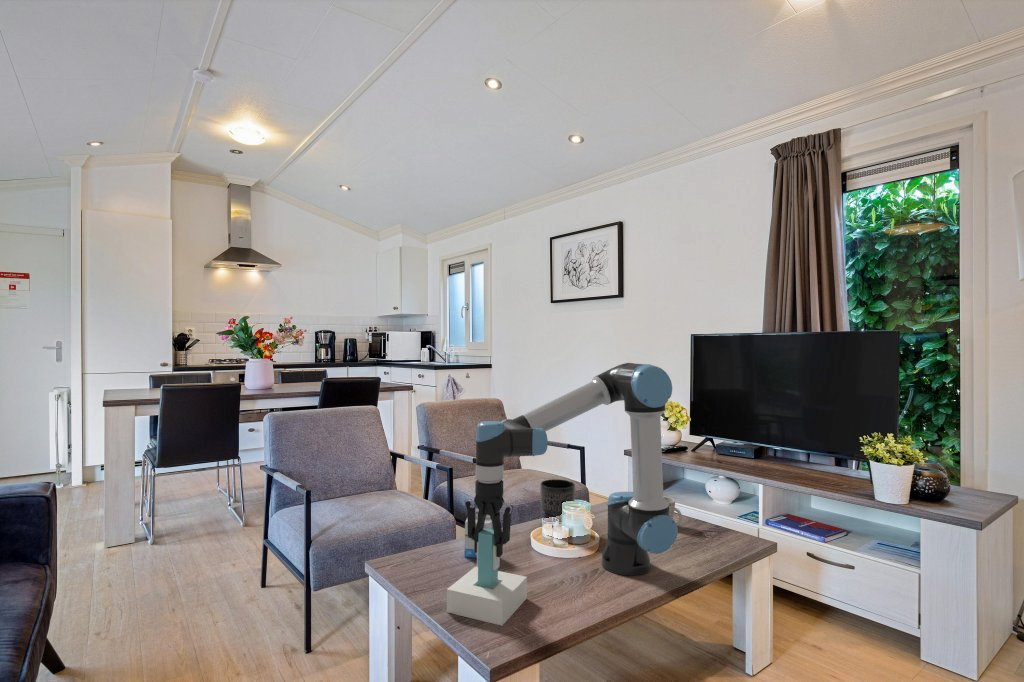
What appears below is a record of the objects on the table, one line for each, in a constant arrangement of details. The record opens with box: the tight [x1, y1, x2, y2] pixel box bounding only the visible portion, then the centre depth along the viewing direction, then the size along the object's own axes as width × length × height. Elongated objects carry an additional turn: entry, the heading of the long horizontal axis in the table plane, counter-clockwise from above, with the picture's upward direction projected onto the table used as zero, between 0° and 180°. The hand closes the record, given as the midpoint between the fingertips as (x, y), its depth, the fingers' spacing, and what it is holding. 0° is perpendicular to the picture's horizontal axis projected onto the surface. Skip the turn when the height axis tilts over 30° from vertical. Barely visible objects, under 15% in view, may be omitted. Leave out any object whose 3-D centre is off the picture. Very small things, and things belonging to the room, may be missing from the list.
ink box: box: [463, 507, 493, 559], centre depth 183 cm, size 9×5×15 cm, turn 84°
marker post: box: [478, 528, 499, 588], centre depth 149 cm, size 4×4×14 cm
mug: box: [663, 496, 683, 526], centre depth 213 cm, size 8×13×10 cm, turn 40°
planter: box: [539, 478, 576, 519], centre depth 207 cm, size 13×13×18 cm
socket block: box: [446, 565, 528, 626], centre depth 149 cm, size 16×16×6 cm
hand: (488, 566), depth 149 cm, fingers closed on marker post, 4 cm apart
